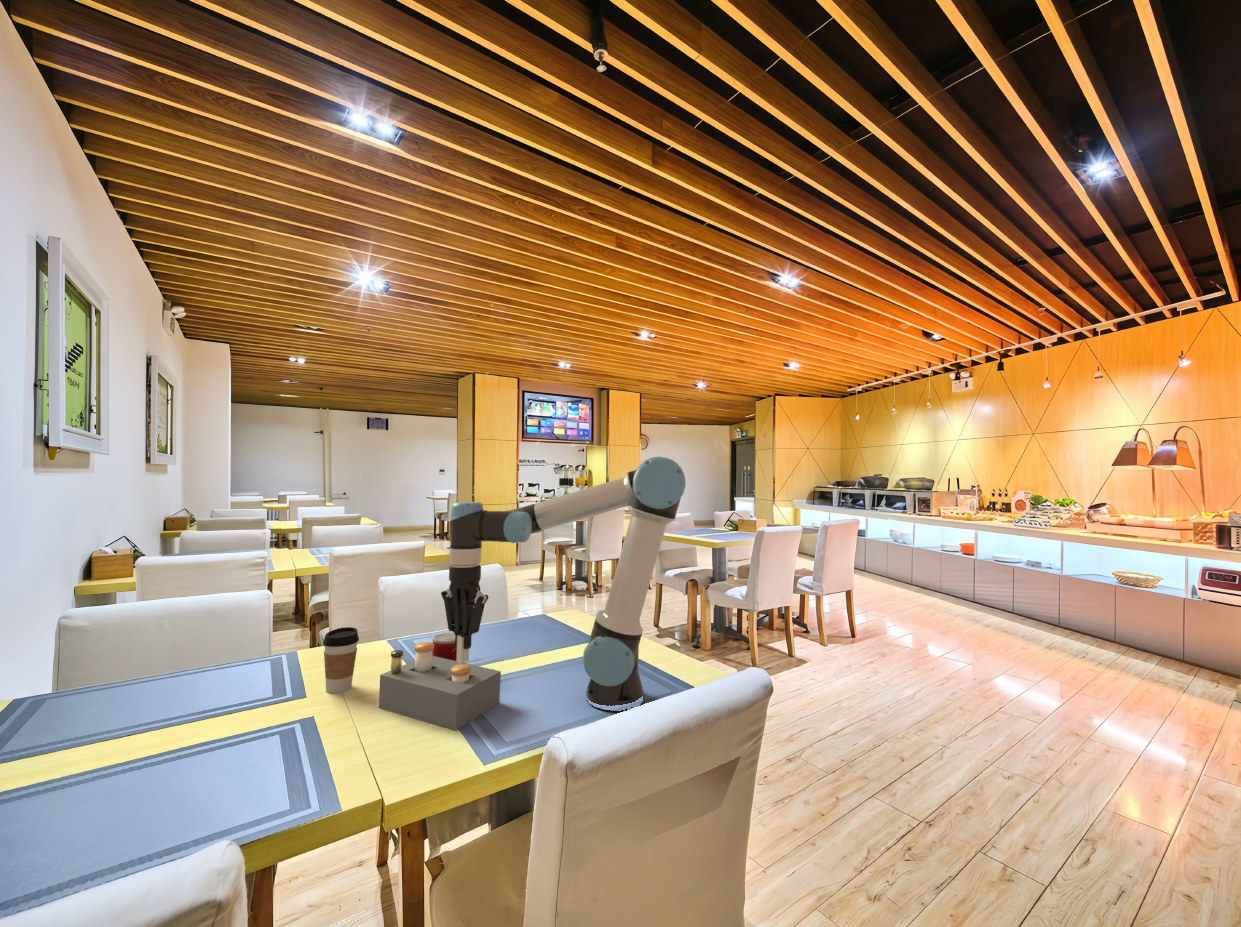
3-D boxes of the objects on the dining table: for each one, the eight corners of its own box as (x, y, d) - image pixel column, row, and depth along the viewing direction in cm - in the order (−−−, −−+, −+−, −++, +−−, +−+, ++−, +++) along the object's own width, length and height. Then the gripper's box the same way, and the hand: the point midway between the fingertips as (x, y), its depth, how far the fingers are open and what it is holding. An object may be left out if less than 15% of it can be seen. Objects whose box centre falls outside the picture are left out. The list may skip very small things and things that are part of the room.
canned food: (455, 681, 143) (456, 642, 143) (426, 680, 143) (428, 640, 143) (464, 671, 151) (465, 633, 151) (436, 670, 151) (438, 632, 151)
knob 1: (436, 675, 132) (437, 643, 132) (423, 681, 128) (424, 649, 128) (423, 671, 134) (424, 640, 134) (409, 678, 130) (410, 646, 130)
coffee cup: (363, 683, 140) (366, 628, 140) (343, 696, 131) (346, 637, 132) (334, 681, 140) (337, 626, 141) (312, 694, 132) (315, 635, 132)
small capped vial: (404, 671, 129) (405, 651, 129) (395, 675, 126) (396, 654, 126) (396, 669, 130) (397, 649, 130) (387, 673, 127) (388, 652, 127)
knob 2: (473, 699, 127) (474, 666, 127) (460, 706, 123) (461, 672, 123) (458, 695, 129) (460, 663, 129) (445, 702, 125) (447, 669, 125)
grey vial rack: (499, 703, 131) (500, 671, 131) (455, 730, 116) (457, 695, 116) (427, 684, 140) (428, 655, 141) (378, 707, 126) (380, 674, 126)
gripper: (496, 564, 127) (493, 660, 127) (455, 560, 133) (452, 652, 132) (476, 569, 121) (473, 671, 120) (433, 564, 126) (430, 661, 125)
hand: (462, 661), depth 126 cm, fingers closed
